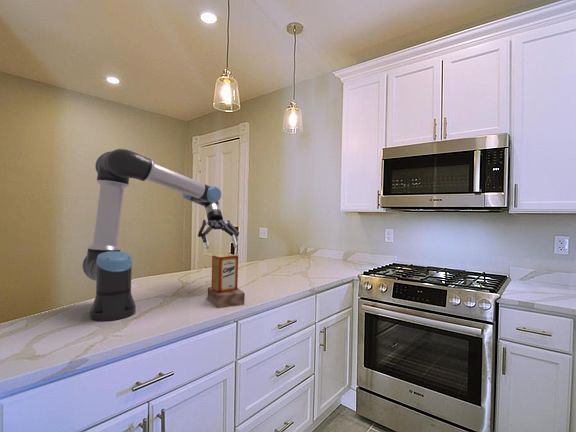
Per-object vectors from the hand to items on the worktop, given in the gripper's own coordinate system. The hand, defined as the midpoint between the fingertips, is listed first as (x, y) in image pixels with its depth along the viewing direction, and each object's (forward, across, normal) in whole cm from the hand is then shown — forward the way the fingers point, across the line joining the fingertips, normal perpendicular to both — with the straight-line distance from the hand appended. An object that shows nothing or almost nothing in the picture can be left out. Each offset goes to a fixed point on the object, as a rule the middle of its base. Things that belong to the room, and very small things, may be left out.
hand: (222, 246), depth 144 cm
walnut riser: (+22, 0, -11) cm, 25 cm away
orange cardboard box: (+19, +1, -8) cm, 20 cm away
